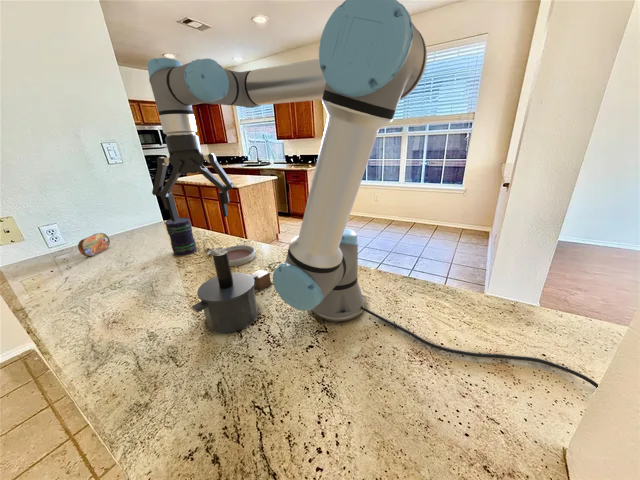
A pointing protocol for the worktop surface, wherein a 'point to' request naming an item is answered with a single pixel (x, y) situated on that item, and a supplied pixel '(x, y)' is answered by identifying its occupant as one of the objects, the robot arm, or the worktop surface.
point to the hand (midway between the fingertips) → (200, 217)
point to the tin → (93, 244)
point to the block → (262, 279)
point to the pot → (230, 312)
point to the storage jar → (181, 236)
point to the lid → (225, 282)
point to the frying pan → (237, 254)
